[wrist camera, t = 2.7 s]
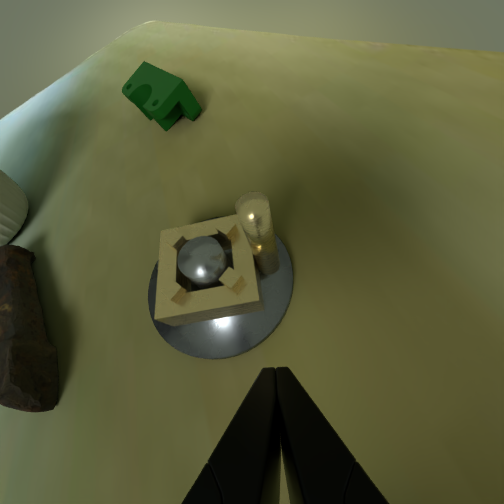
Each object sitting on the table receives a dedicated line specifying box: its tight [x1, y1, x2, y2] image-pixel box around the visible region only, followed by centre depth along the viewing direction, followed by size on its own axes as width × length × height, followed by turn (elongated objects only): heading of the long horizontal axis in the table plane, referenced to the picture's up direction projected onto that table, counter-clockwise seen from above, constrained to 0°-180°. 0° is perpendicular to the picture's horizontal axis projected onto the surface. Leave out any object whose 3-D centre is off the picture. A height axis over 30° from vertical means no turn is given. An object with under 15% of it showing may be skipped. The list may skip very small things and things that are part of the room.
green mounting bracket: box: [122, 61, 202, 131], centre depth 36 cm, size 12×6×9 cm, turn 37°
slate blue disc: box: [148, 216, 293, 359], centre depth 20 cm, size 14×14×6 cm
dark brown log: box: [0, 244, 59, 412], centre depth 23 cm, size 19×4×5 cm, turn 36°
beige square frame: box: [154, 192, 280, 327], centre depth 18 cm, size 8×10×8 cm
